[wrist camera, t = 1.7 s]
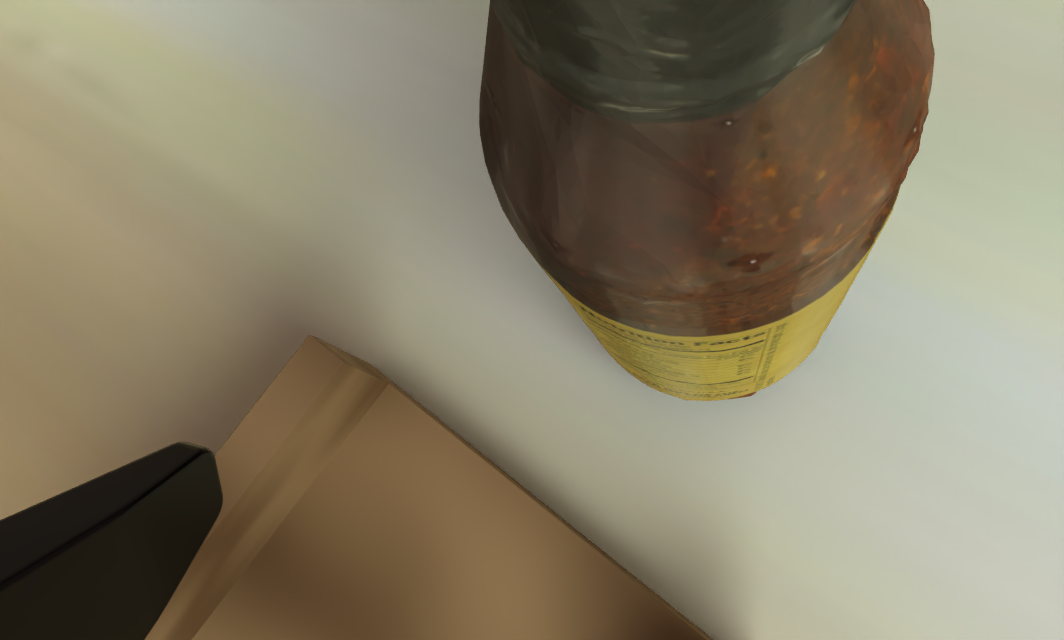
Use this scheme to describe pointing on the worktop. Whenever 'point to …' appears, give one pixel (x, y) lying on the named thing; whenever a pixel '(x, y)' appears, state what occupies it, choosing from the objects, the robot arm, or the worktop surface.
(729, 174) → the sauce bottle
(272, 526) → the box
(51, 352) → the worktop surface
